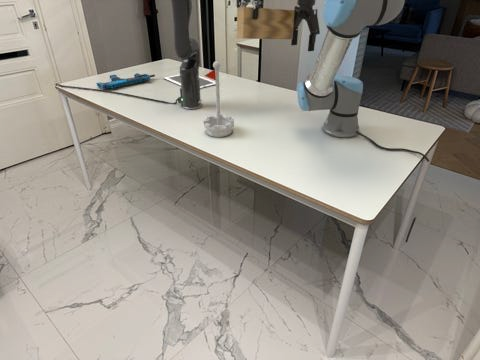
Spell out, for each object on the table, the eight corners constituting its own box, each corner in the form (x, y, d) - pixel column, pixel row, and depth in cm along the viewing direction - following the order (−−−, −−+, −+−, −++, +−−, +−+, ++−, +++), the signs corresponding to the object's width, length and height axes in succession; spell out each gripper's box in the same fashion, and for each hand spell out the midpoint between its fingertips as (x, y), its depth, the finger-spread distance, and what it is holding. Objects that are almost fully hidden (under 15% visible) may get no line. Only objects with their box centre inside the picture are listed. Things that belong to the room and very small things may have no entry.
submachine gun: (140, 68, 226) (159, 74, 209) (142, 73, 228) (160, 80, 211) (89, 77, 207) (104, 85, 190) (90, 84, 209) (106, 92, 192)
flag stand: (228, 123, 156) (226, 56, 140) (238, 135, 146) (237, 63, 130) (200, 127, 152) (195, 59, 136) (209, 140, 142) (205, 67, 126)
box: (285, 39, 159) (287, 10, 154) (292, 39, 154) (294, 10, 150) (236, 38, 148) (237, 7, 143) (243, 38, 143) (243, 6, 138)
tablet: (163, 78, 216) (163, 77, 215) (189, 72, 227) (189, 71, 226) (191, 90, 195) (191, 90, 195) (219, 83, 206) (219, 83, 206)
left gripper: (231, -26, 140) (230, 19, 146) (257, -29, 131) (255, 18, 137) (244, -23, 145) (243, 20, 151) (270, -26, 136) (267, 19, 142)
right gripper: (283, -8, 150) (281, 43, 162) (317, -3, 131) (311, 54, 143) (298, -8, 152) (294, 42, 164) (332, -4, 134) (325, 52, 145)
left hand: (248, 19), depth 144 cm, fingers closed on box, 6 cm apart
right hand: (302, 48), depth 153 cm, fingers open, 13 cm apart
